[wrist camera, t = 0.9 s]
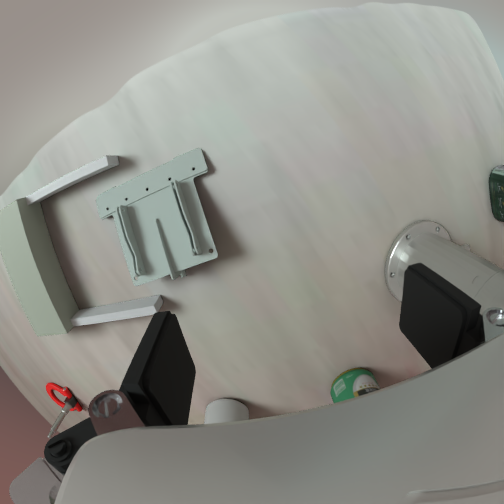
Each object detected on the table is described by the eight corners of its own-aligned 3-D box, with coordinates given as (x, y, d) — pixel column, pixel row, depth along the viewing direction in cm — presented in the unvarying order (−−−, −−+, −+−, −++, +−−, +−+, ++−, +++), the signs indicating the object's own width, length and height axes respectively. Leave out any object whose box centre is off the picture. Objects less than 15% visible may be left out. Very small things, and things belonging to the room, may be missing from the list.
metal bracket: (236, 259, 27) (117, 300, 29) (242, 256, 33) (138, 292, 34) (193, 134, 27) (86, 188, 28) (206, 150, 33) (110, 194, 34)
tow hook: (60, 405, 44) (85, 410, 43) (38, 440, 32) (63, 450, 31) (42, 379, 42) (66, 383, 41) (15, 415, 29) (38, 424, 29)
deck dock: (117, 155, 29) (97, 155, 24) (163, 302, 35) (152, 322, 30) (10, 210, 30) (-10, 217, 25) (52, 321, 36) (37, 336, 31)
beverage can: (378, 365, 40) (406, 414, 29) (361, 396, 42) (381, 444, 31) (338, 365, 39) (361, 421, 28) (322, 397, 42) (338, 450, 30)
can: (207, 419, 43) (202, 471, 31) (204, 394, 41) (196, 451, 29) (248, 420, 43) (249, 473, 32) (249, 395, 41) (251, 454, 29)
